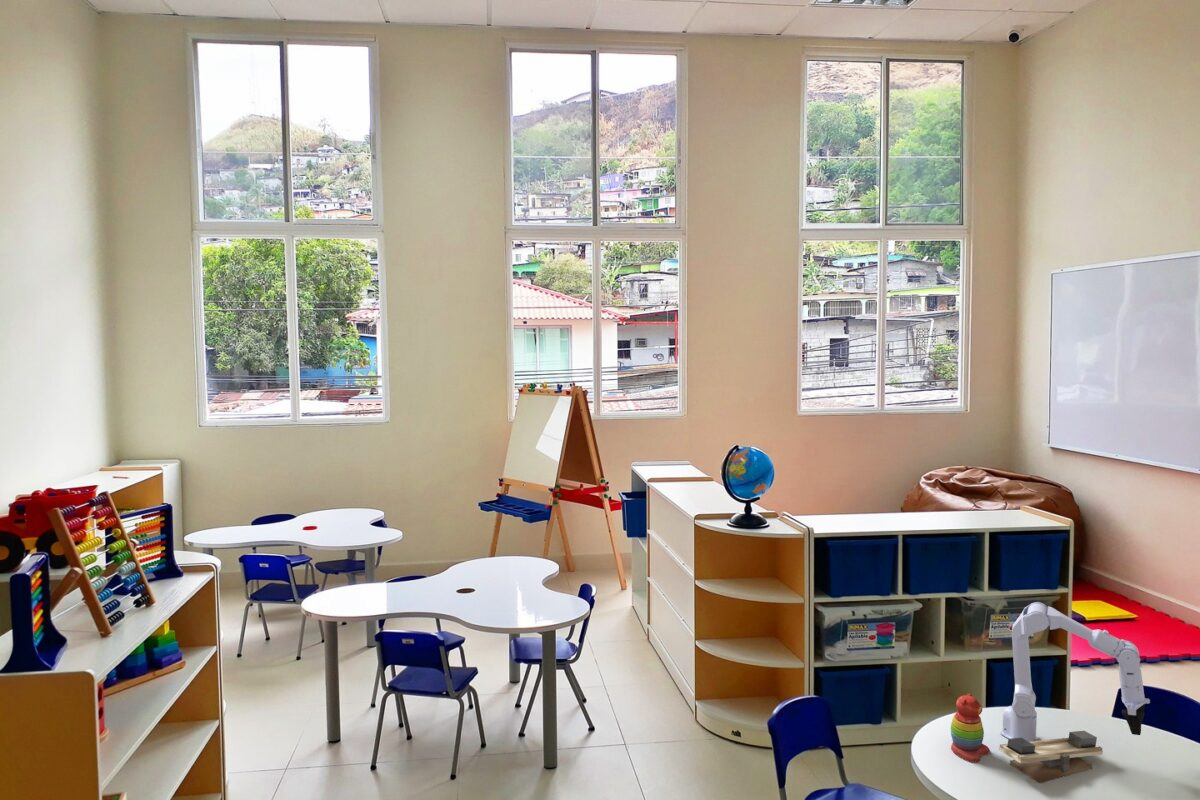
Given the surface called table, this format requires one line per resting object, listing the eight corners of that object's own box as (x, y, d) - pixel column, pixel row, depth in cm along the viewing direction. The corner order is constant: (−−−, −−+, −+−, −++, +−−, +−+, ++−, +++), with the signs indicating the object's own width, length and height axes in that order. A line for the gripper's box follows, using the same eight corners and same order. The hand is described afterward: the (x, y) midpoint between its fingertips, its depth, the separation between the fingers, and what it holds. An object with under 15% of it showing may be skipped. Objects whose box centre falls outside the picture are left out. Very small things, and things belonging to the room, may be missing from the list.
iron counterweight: (1007, 748, 250) (1008, 738, 250) (1020, 747, 252) (1021, 737, 252) (1020, 756, 245) (1022, 746, 245) (1033, 755, 247) (1035, 745, 247)
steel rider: (1067, 743, 258) (1069, 731, 258) (1082, 741, 260) (1084, 730, 260) (1080, 750, 254) (1082, 738, 254) (1095, 748, 256) (1096, 737, 256)
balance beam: (998, 749, 251) (999, 744, 251) (1079, 741, 262) (1080, 736, 262) (1020, 763, 244) (1021, 757, 243) (1102, 754, 255) (1103, 748, 254)
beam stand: (1009, 764, 255) (1010, 745, 254) (1060, 750, 262) (1061, 732, 261) (1040, 783, 245) (1040, 763, 244) (1092, 768, 251) (1092, 749, 251)
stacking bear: (976, 764, 256) (977, 708, 254) (943, 752, 263) (944, 697, 261) (992, 751, 263) (993, 696, 261) (960, 739, 270) (961, 686, 268)
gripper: (1145, 695, 244) (1151, 741, 245) (1149, 676, 256) (1155, 720, 256) (1117, 692, 249) (1122, 737, 249) (1122, 673, 260) (1127, 717, 261)
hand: (1137, 728), depth 253 cm, fingers open, 7 cm apart
